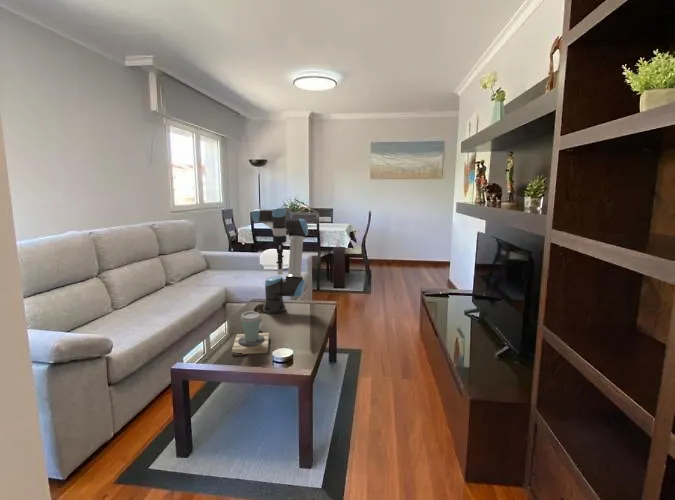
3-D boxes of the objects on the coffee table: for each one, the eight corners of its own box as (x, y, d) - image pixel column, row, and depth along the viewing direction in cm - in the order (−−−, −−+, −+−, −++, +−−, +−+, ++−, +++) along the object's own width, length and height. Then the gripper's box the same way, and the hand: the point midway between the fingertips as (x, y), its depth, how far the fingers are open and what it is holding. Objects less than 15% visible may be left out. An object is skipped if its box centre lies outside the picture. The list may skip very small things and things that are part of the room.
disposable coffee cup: (265, 337, 199) (264, 311, 196) (255, 345, 189) (254, 318, 186) (247, 334, 202) (246, 309, 199) (237, 343, 191) (236, 316, 188)
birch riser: (236, 339, 203) (236, 333, 203) (269, 337, 206) (268, 332, 205) (232, 354, 186) (232, 348, 185) (267, 352, 188) (267, 346, 188)
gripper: (286, 238, 193) (287, 276, 197) (286, 231, 217) (286, 265, 221) (272, 238, 191) (273, 277, 196) (273, 231, 216) (274, 266, 220)
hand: (280, 271), depth 208 cm, fingers open, 13 cm apart
